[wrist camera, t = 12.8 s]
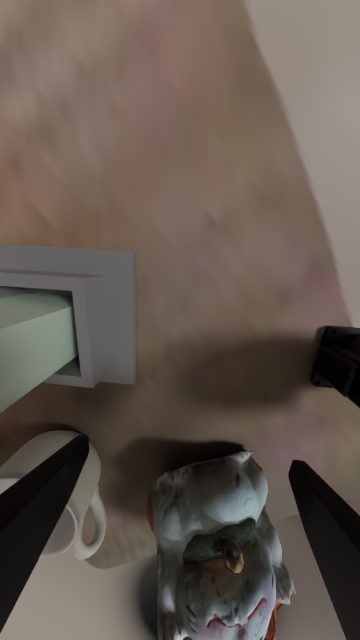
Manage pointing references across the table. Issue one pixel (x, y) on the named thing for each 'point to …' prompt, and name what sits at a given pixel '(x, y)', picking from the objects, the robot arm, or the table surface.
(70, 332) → the sage block
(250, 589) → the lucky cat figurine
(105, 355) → the grey square socket base
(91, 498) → the teacup
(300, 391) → the table surface
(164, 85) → the table surface
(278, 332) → the table surface
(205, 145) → the table surface
